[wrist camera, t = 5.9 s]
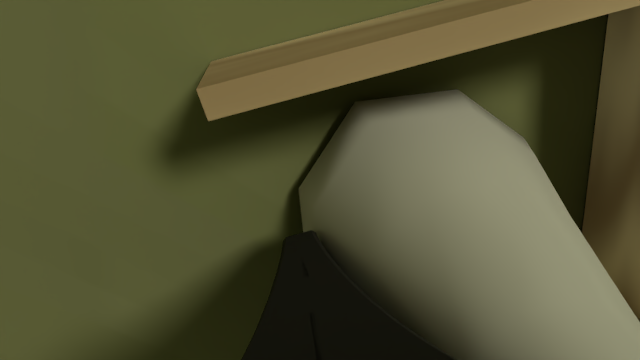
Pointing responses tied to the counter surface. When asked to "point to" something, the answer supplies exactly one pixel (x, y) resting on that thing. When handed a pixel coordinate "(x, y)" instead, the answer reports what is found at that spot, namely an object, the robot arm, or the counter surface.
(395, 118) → the flask
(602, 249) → the oak frame
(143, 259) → the counter surface
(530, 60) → the counter surface
